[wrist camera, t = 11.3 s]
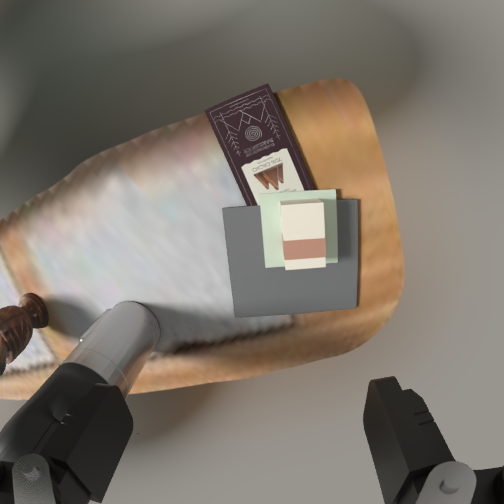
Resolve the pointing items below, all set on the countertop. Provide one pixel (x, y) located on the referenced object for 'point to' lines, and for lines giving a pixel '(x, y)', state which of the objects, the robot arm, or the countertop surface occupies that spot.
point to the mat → (272, 258)
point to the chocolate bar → (258, 145)
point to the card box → (303, 233)
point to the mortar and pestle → (19, 327)
